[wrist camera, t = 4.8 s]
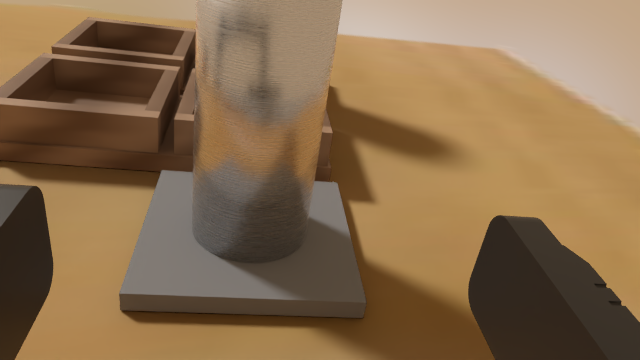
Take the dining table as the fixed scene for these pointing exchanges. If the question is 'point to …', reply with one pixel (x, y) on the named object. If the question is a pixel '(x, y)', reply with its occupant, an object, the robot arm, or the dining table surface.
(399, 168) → the dining table surface
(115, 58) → the tray
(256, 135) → the steel billet
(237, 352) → the dining table surface
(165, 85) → the tray
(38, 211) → the robot arm
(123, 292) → the rubber mat
